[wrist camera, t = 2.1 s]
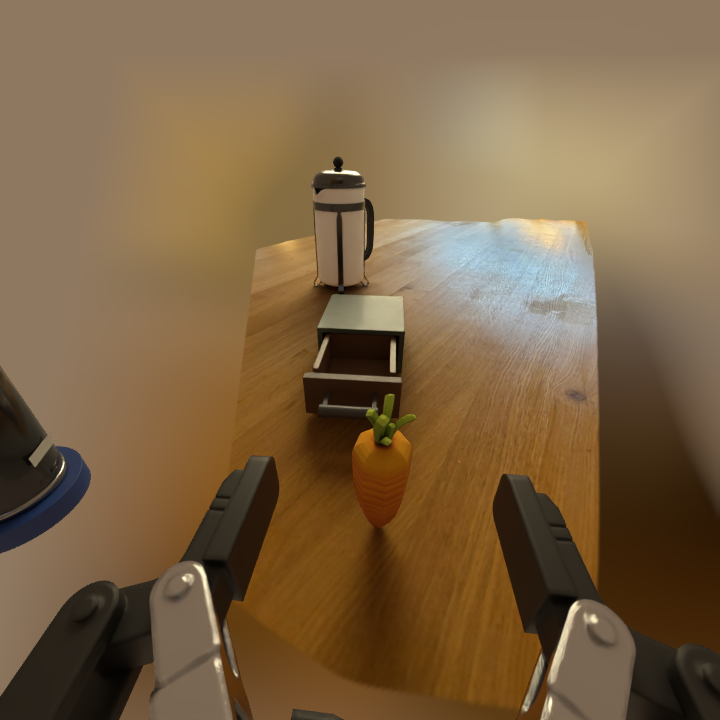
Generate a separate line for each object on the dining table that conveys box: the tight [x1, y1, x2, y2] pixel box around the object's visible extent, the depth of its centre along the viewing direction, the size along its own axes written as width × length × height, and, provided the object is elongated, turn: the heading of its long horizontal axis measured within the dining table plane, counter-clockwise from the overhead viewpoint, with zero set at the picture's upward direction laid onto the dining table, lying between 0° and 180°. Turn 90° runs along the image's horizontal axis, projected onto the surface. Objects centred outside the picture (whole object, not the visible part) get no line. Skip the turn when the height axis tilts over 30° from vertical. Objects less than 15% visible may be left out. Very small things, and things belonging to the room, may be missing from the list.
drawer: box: [303, 332, 402, 420], centre depth 47 cm, size 18×12×6 cm
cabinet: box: [317, 294, 405, 373], centre depth 59 cm, size 15×14×8 cm
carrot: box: [352, 394, 417, 528], centre depth 28 cm, size 5×5×15 cm
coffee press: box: [311, 157, 374, 294], centre depth 84 cm, size 17×16×30 cm
